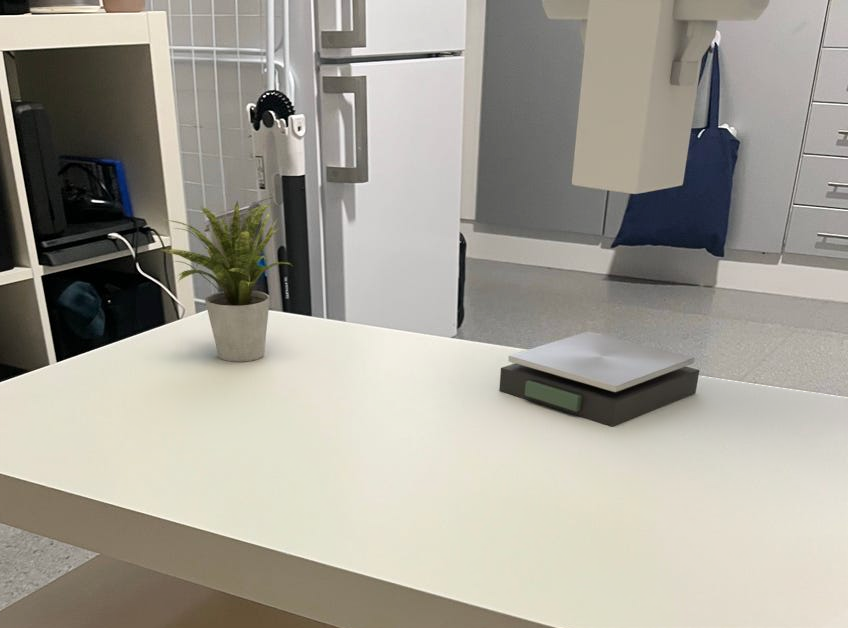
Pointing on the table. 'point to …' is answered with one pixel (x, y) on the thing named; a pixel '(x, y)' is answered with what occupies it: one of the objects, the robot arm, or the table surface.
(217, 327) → the house plant
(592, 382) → the scale platform
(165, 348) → the table surface
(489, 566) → the table surface
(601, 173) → the milk carton
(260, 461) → the table surface
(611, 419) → the scale
